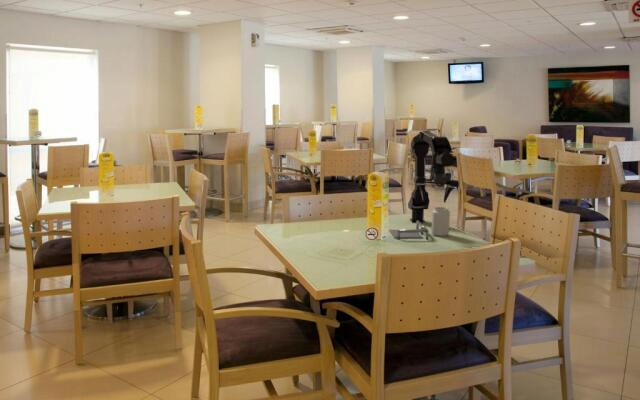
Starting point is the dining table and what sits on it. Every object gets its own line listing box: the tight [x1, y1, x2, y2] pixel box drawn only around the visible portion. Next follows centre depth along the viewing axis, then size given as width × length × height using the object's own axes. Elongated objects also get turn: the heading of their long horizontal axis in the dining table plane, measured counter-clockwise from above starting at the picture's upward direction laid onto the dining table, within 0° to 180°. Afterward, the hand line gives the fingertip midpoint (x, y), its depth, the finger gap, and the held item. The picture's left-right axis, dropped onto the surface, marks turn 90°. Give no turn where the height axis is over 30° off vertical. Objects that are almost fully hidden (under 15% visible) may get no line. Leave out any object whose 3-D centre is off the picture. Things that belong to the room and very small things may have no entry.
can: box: [430, 206, 451, 238], centre depth 241 cm, size 8×8×12 cm
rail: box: [396, 220, 429, 240], centre depth 243 cm, size 20×13×4 cm, turn 2°
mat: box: [388, 229, 423, 239], centre depth 242 cm, size 14×12×1 cm
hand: (434, 201), depth 241 cm, fingers open, 9 cm apart
